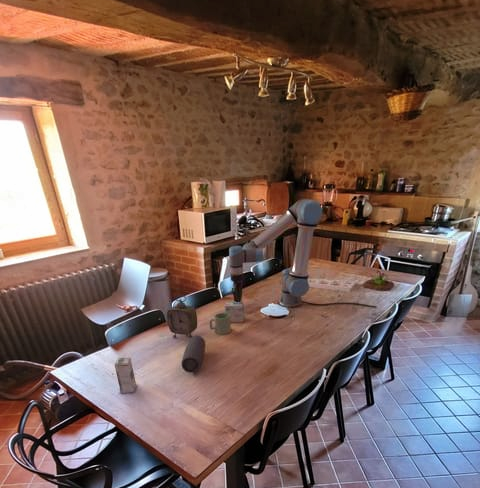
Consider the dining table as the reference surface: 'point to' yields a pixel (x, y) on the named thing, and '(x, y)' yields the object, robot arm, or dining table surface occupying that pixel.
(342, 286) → the holder
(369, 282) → the plant
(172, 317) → the tabletop clock
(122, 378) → the syrup box
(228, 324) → the mug
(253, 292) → the dining table surface
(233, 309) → the light bulb box
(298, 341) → the dining table surface
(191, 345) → the bluetooth speaker
